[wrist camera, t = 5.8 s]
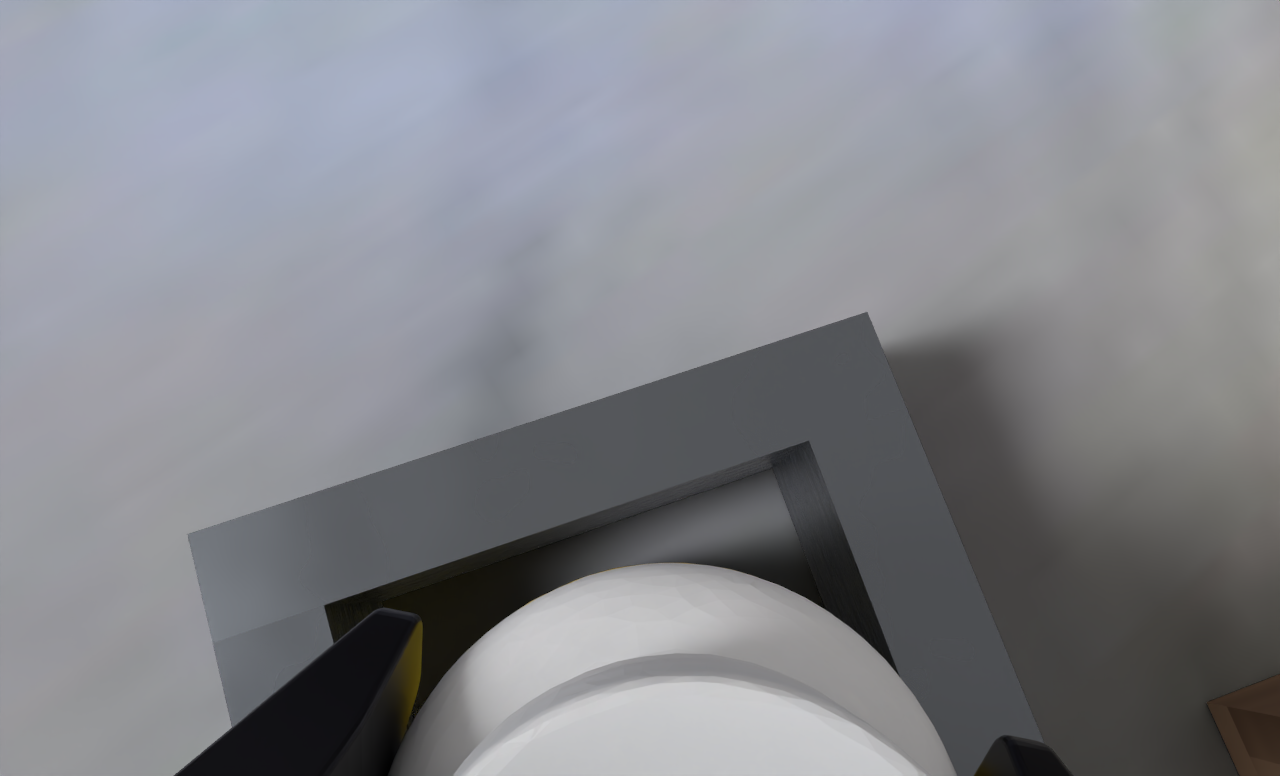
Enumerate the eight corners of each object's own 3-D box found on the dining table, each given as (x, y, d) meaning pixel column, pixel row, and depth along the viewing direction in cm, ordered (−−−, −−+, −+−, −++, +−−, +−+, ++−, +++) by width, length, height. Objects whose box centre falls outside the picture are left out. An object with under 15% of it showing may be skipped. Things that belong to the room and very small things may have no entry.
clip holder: (1052, 948, 14) (1168, 1046, 11) (435, 1201, 13) (383, 1379, 10) (821, 362, 16) (867, 311, 13) (271, 543, 15) (188, 533, 12)
